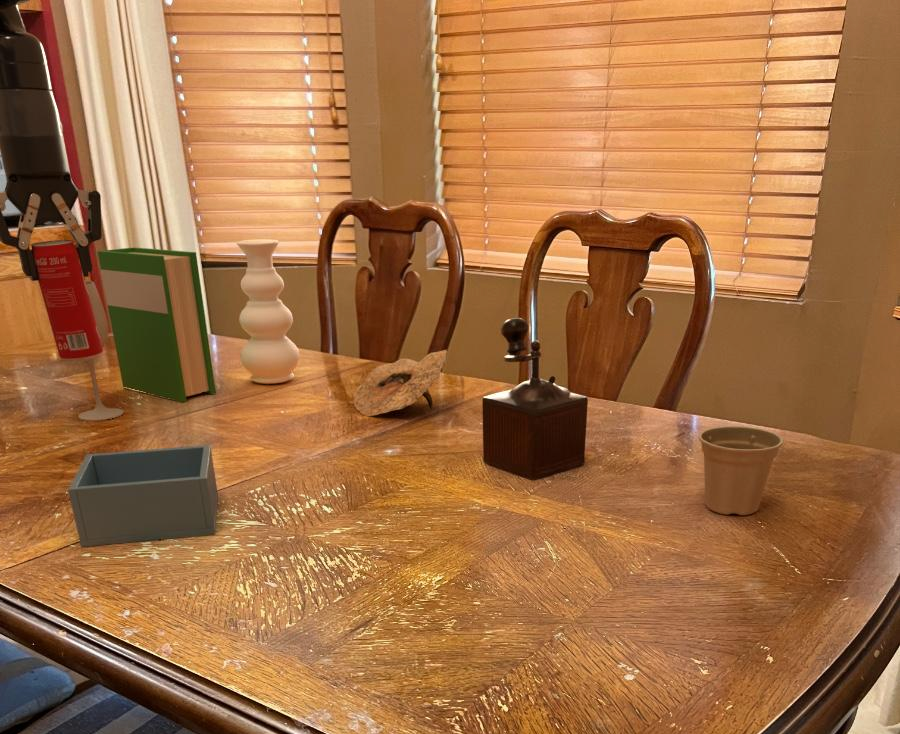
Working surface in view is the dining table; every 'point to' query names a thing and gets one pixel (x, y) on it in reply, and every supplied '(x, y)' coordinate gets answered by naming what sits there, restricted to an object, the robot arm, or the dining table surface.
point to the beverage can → (67, 300)
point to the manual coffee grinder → (533, 418)
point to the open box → (144, 495)
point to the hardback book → (158, 321)
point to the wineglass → (100, 410)
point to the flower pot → (737, 467)
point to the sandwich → (398, 384)
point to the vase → (265, 317)
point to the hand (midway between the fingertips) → (59, 277)
